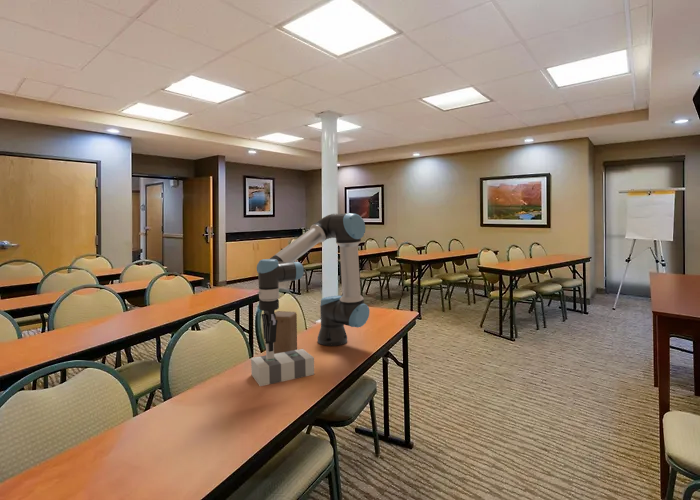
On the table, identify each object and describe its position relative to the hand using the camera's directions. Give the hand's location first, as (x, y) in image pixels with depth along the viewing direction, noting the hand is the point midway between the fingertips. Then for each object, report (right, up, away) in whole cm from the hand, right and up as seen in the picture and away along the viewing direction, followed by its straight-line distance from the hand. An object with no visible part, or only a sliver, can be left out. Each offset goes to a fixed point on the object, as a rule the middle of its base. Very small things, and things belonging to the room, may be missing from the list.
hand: (270, 358), depth 151 cm
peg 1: (0, -7, +1) cm, 7 cm away
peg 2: (+9, -7, +5) cm, 12 cm away
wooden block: (+1, -6, +23) cm, 24 cm away
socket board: (+4, -7, +3) cm, 9 cm away
